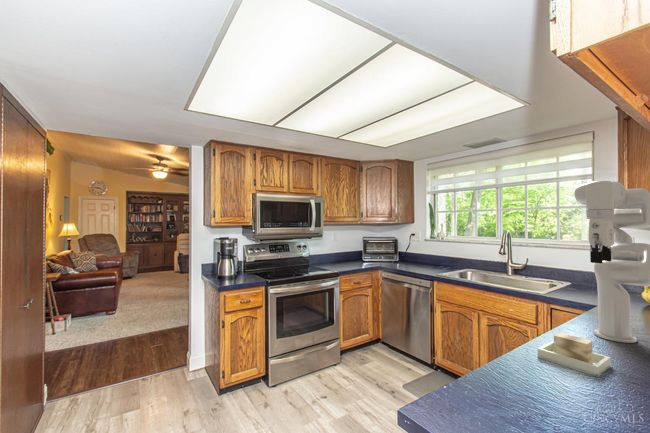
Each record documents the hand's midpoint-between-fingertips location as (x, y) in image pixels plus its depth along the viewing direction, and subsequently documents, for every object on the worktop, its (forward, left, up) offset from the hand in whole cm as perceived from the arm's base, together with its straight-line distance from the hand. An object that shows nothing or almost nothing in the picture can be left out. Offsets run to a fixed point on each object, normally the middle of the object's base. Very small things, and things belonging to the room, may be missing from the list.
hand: (601, 261), depth 108 cm
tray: (+19, -3, -32) cm, 38 cm away
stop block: (+19, -3, -32) cm, 37 cm away
